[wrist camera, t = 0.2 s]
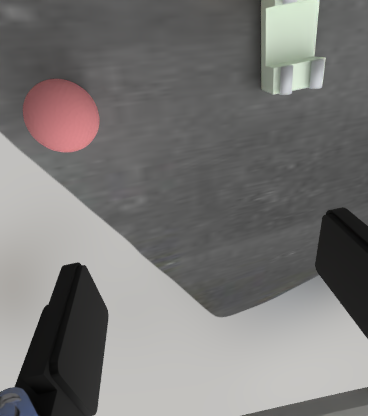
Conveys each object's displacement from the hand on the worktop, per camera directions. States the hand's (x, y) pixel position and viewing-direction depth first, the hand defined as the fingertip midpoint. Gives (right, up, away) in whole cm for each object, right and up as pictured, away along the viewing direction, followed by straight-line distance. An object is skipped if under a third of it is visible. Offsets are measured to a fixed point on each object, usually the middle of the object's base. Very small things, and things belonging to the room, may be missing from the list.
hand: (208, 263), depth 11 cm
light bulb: (-15, +16, +24) cm, 33 cm away
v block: (+12, +24, +23) cm, 35 cm away
